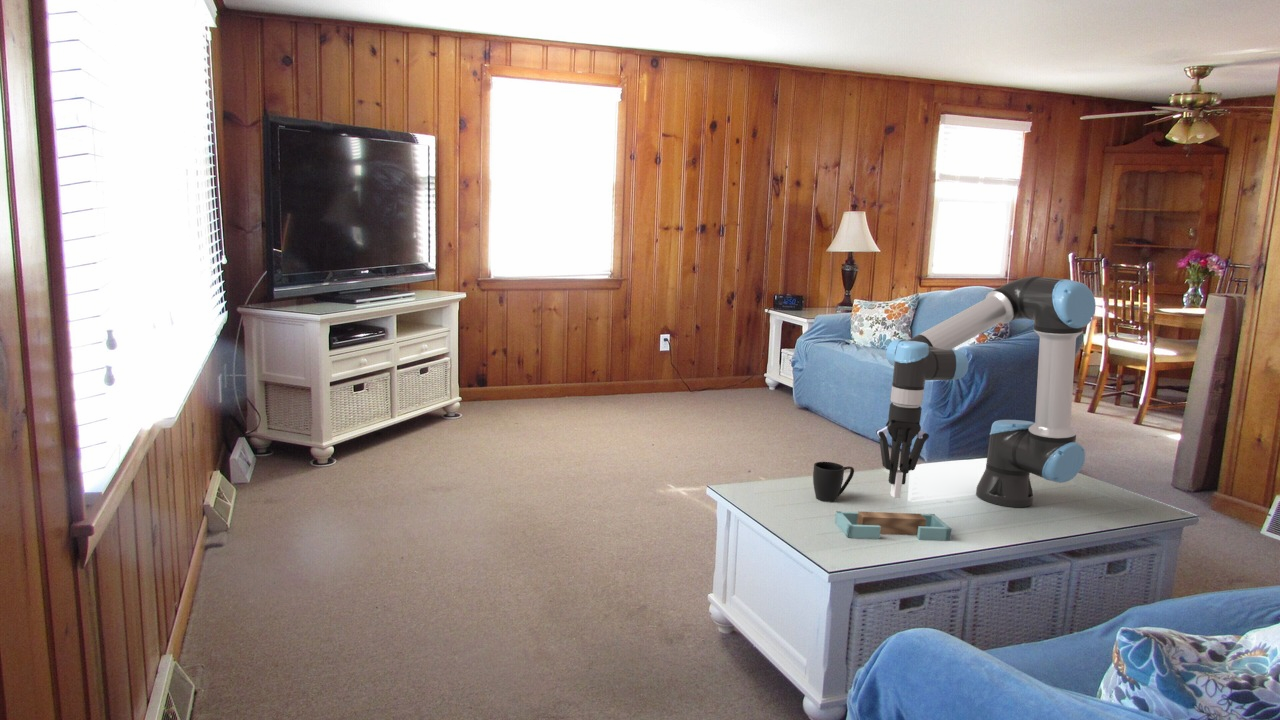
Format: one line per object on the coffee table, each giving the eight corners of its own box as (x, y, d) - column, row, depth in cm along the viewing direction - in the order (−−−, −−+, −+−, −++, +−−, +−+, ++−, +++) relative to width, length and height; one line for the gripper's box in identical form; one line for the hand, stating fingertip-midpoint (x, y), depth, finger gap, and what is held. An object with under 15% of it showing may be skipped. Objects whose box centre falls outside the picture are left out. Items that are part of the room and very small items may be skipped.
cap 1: (847, 537, 210) (849, 526, 209) (834, 522, 220) (836, 511, 219) (879, 538, 210) (880, 527, 210) (865, 523, 221) (866, 512, 220)
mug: (858, 502, 237) (862, 469, 235) (820, 504, 233) (823, 470, 231) (843, 492, 244) (846, 460, 243) (805, 494, 241) (808, 461, 239)
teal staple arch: (932, 525, 222) (934, 513, 222) (950, 540, 212) (951, 528, 211) (902, 524, 221) (904, 513, 221) (918, 539, 211) (920, 528, 211)
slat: (918, 530, 218) (920, 513, 218) (924, 536, 214) (926, 519, 214) (856, 528, 217) (858, 511, 217) (861, 534, 213) (863, 517, 213)
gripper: (925, 401, 214) (914, 492, 219) (874, 399, 213) (864, 490, 217) (938, 408, 207) (926, 502, 211) (885, 406, 206) (875, 500, 210)
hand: (895, 496), depth 214 cm, fingers closed
